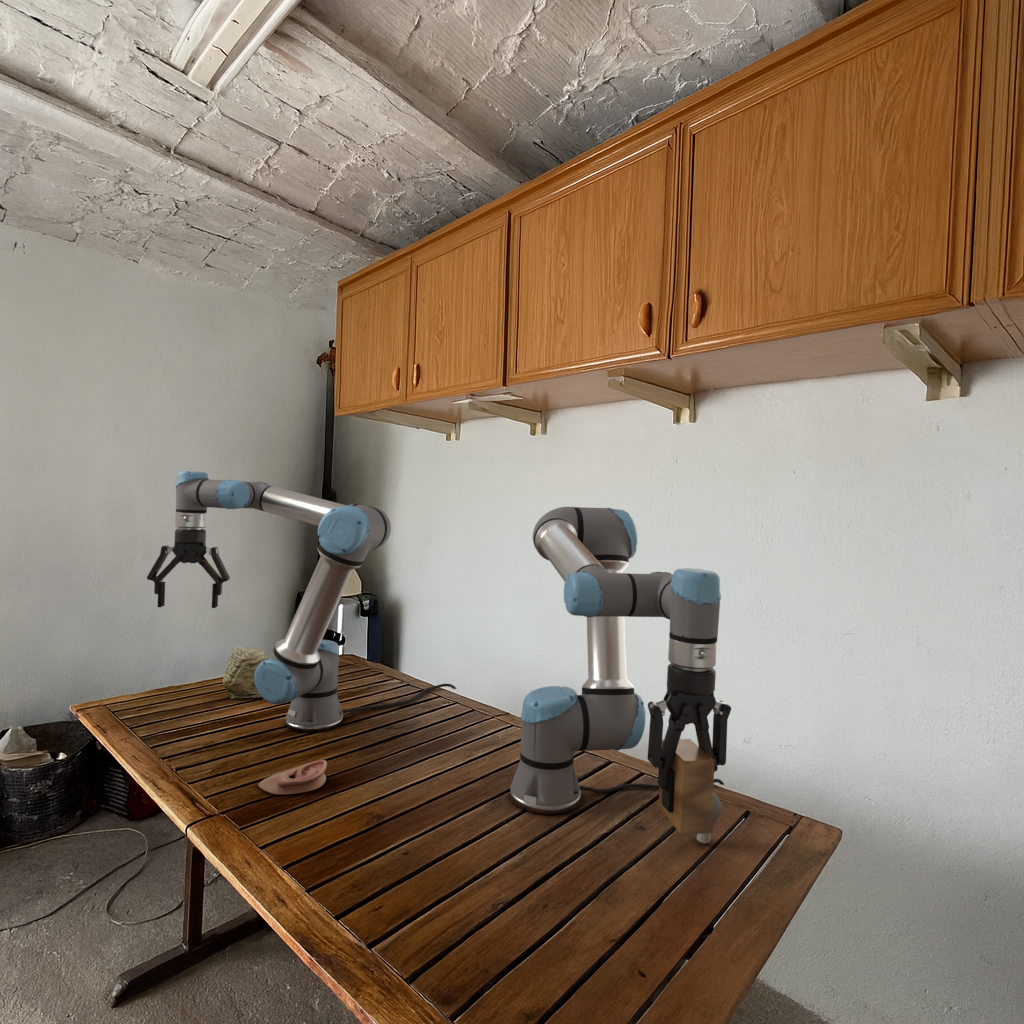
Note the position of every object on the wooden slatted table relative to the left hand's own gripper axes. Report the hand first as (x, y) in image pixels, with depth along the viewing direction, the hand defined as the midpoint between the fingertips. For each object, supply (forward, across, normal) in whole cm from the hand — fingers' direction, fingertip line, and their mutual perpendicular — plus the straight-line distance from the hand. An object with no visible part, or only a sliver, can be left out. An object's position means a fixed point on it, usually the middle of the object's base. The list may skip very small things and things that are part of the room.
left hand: (188, 607), depth 171 cm
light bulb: (+32, +116, -69) cm, 139 cm away
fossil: (+32, +12, +24) cm, 42 cm away
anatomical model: (+32, +35, -39) cm, 61 cm away
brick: (+18, +104, -86) cm, 136 cm away
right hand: (+16, +104, -86) cm, 136 cm away
